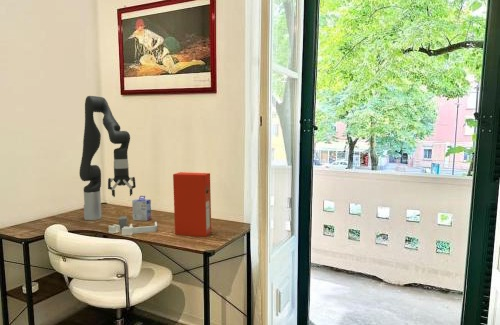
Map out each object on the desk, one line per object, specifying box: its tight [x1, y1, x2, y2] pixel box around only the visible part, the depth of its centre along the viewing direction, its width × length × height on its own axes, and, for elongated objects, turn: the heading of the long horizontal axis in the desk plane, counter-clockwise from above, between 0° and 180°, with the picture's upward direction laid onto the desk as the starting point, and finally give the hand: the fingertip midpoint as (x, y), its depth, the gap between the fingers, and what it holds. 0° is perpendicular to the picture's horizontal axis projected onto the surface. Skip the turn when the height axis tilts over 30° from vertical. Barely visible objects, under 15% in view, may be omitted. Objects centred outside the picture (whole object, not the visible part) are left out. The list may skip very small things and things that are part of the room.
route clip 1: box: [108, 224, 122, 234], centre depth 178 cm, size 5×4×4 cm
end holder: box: [129, 221, 158, 235], centre depth 181 cm, size 14×9×3 cm, turn 107°
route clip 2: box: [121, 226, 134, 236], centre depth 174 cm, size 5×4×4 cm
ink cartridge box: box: [131, 195, 152, 222], centre depth 203 cm, size 10×6×14 cm, turn 78°
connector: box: [118, 215, 128, 231], centre depth 188 cm, size 4×11×6 cm, turn 17°
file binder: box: [172, 171, 212, 238], centre depth 173 cm, size 8×17×32 cm, turn 75°
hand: (122, 196), depth 184 cm, fingers open, 8 cm apart
